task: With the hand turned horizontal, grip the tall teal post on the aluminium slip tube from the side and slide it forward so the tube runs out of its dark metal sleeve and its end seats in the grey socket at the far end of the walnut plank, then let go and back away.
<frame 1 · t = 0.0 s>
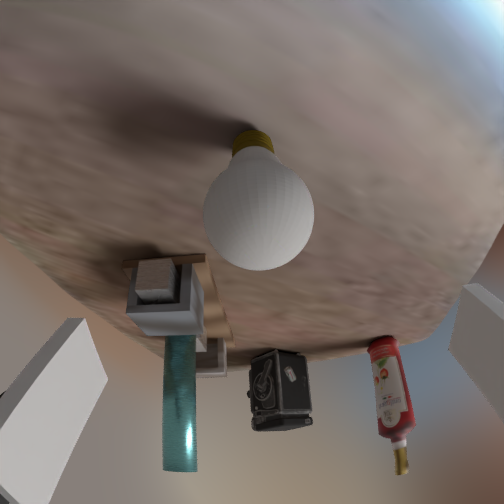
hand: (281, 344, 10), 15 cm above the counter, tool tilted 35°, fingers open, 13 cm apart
camera: (274, 356, 62), on the counter
liquor: (381, 339, 60), on the counter
light bulb: (251, 137, 21), on the counter
bench: (191, 311, 43), on the counter
slip tube: (175, 383, 31), point 11 cm above the counter, slide at 0.0 cm
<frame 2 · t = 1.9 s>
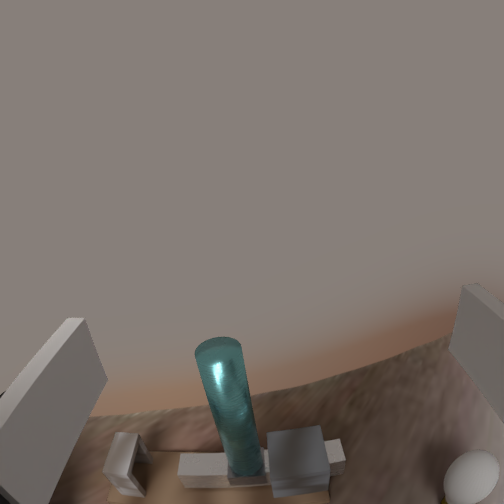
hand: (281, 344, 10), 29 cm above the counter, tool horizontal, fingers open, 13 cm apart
bench: (214, 483, 31), on the counter
slip tube: (252, 426, 27), point 11 cm above the counter, slide at 0.0 cm
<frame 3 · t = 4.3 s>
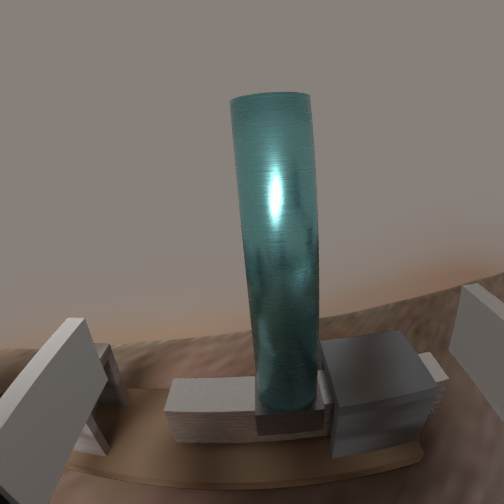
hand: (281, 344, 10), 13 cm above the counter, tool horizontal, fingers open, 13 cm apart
bench: (225, 439, 20), on the counter
slip tube: (312, 294, 16), point 11 cm above the counter, slide at 0.0 cm
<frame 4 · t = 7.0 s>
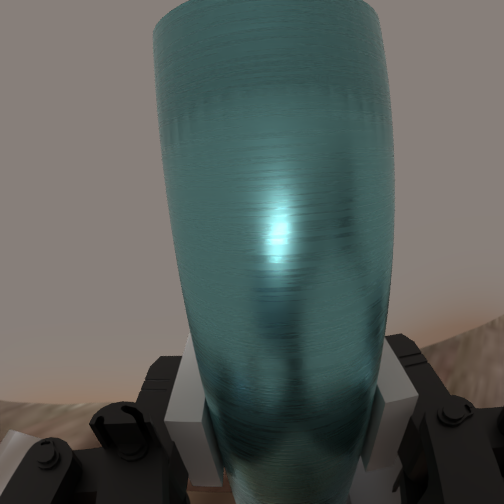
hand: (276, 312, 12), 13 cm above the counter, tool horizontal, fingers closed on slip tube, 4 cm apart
slip tube: (345, 451, 7), point 11 cm above the counter, slide at 0.0 cm, touching gripper
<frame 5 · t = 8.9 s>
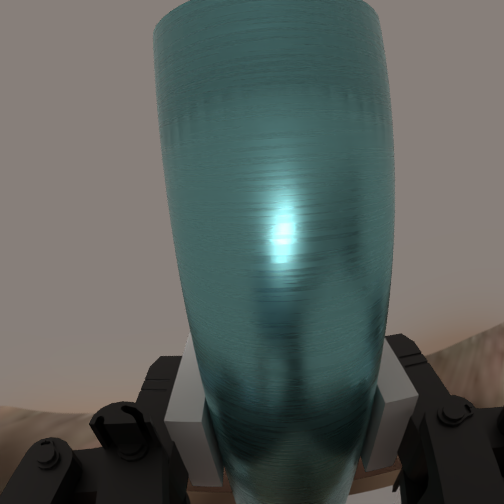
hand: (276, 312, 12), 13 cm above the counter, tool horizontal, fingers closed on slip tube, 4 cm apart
slip tube: (345, 451, 7), point 11 cm above the counter, slide at 7.1 cm, touching gripper
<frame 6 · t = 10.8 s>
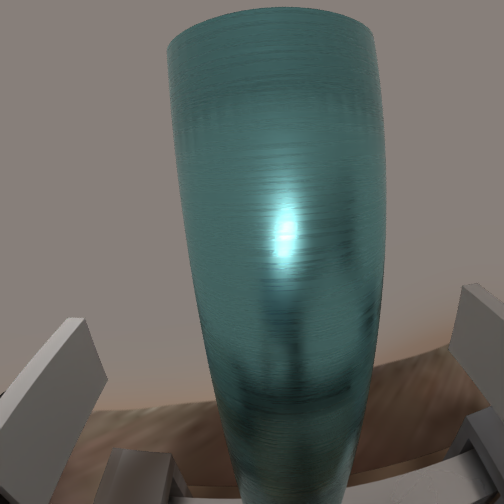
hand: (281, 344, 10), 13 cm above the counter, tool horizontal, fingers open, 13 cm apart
slip tube: (344, 439, 8), point 11 cm above the counter, slide at 7.2 cm
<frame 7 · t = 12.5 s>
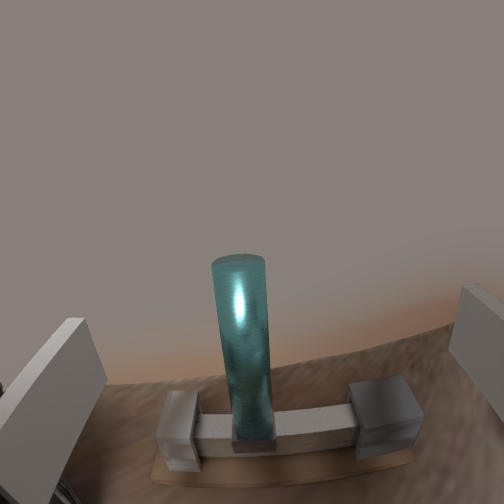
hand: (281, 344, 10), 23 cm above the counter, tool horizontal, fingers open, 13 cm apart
bench: (282, 451, 29), on the counter
slip tube: (266, 373, 25), point 11 cm above the counter, slide at 7.2 cm
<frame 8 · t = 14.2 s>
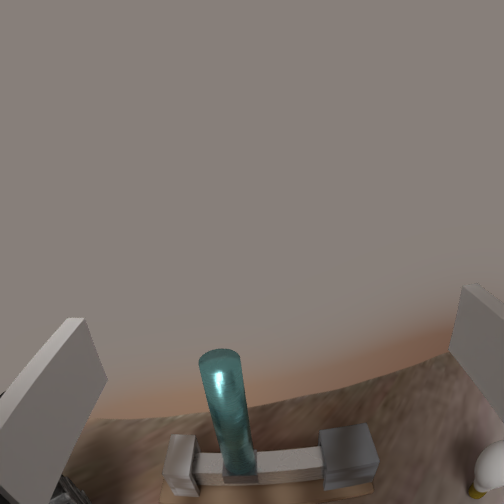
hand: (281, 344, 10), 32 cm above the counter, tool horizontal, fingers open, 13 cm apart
light bulb: (474, 494, 23), on the counter
bench: (265, 480, 33), on the counter
slip tube: (247, 430, 30), point 11 cm above the counter, slide at 7.2 cm
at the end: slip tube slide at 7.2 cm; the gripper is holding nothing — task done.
